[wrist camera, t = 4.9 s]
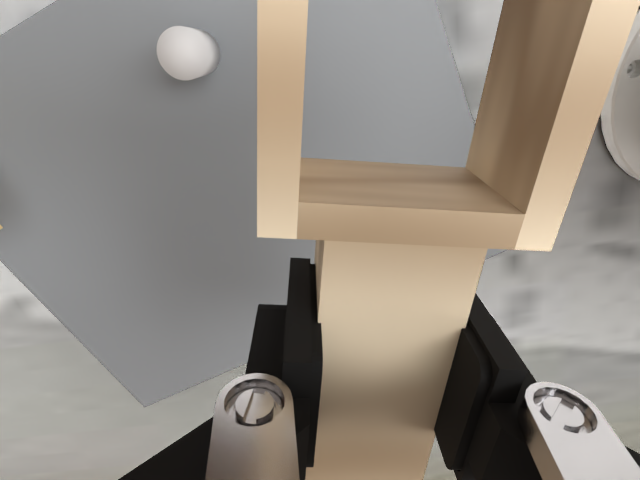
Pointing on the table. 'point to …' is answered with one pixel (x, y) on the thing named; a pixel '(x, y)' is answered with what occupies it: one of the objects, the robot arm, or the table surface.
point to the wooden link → (424, 218)
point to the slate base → (192, 163)
